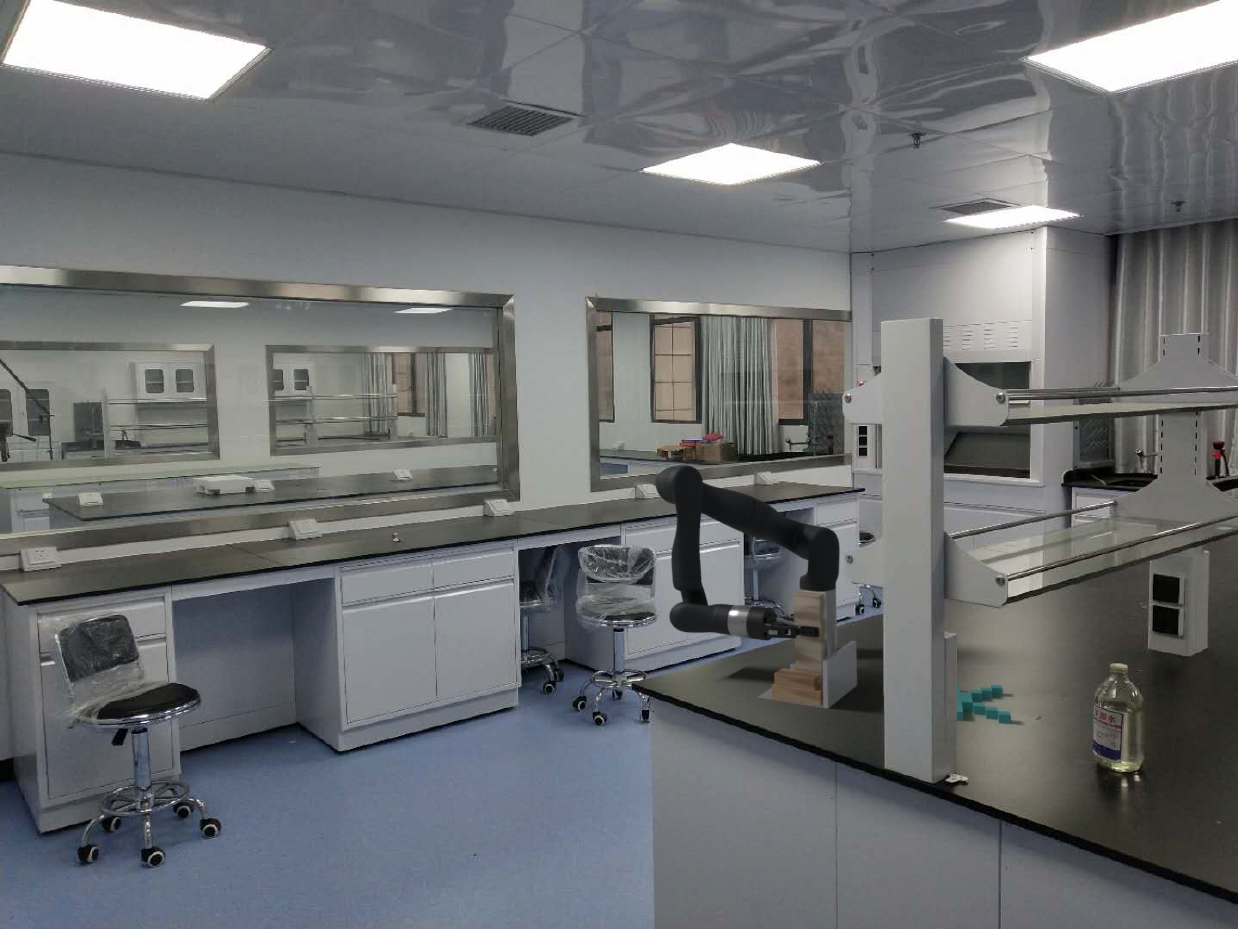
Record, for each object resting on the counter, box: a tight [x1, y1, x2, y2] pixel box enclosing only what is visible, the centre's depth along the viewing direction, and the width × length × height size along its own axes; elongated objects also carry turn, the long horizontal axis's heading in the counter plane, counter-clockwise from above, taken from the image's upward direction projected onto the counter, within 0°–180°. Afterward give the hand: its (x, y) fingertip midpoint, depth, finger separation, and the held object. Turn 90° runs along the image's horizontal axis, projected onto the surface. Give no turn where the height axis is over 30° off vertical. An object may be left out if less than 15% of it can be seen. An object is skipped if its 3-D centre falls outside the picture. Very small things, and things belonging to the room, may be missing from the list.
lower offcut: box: [771, 682, 823, 704], centre depth 199 cm, size 5×11×2 cm, turn 57°
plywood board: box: [793, 589, 828, 676], centre depth 204 cm, size 4×6×20 cm, turn 57°
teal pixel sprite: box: [956, 682, 1012, 725], centre depth 195 cm, size 20×2×20 cm
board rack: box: [757, 640, 858, 709], centre depth 202 cm, size 18×16×12 cm
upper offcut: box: [773, 667, 822, 691], centre depth 199 cm, size 5×9×2 cm, turn 57°
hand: (822, 630), depth 202 cm, fingers closed on plywood board, 4 cm apart
